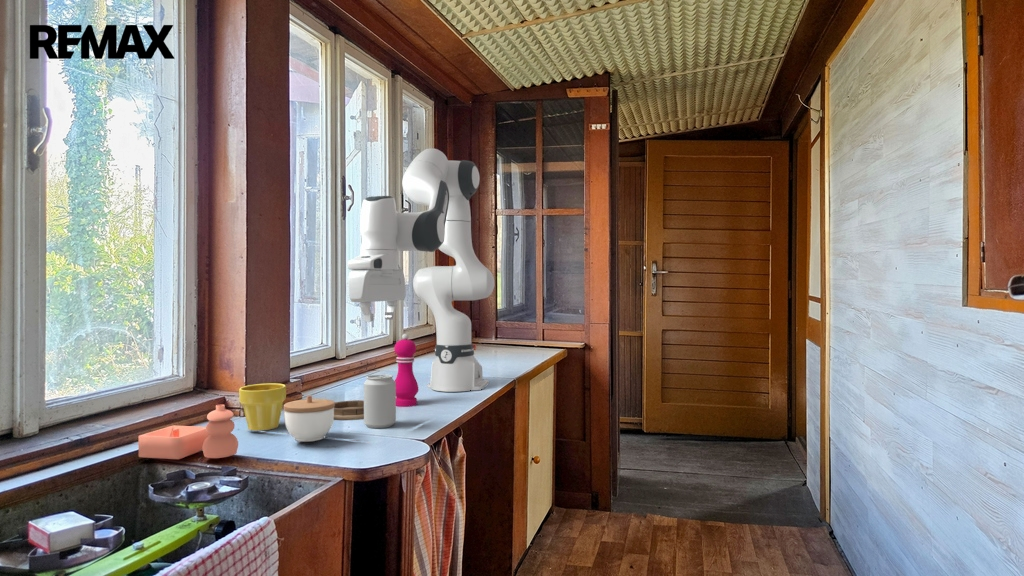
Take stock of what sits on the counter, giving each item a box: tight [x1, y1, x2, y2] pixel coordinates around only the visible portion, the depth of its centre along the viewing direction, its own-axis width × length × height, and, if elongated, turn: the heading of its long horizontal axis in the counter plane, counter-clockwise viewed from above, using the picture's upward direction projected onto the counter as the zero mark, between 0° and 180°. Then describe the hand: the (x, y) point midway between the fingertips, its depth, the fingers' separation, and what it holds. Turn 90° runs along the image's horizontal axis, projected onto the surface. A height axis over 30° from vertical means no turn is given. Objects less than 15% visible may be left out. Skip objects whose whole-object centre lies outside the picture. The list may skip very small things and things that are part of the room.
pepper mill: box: [394, 333, 419, 408], centre depth 177 cm, size 7×7×20 cm
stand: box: [333, 399, 364, 421], centre depth 165 cm, size 14×14×2 cm
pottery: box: [138, 404, 239, 460], centre depth 128 cm, size 18×10×10 cm, turn 79°
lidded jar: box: [283, 395, 335, 443], centre depth 139 cm, size 11×11×9 cm
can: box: [363, 374, 397, 429], centre depth 151 cm, size 8×8×12 cm
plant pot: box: [238, 382, 287, 432], centre depth 149 cm, size 10×10×10 cm
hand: (379, 320), depth 151 cm, fingers open, 8 cm apart
